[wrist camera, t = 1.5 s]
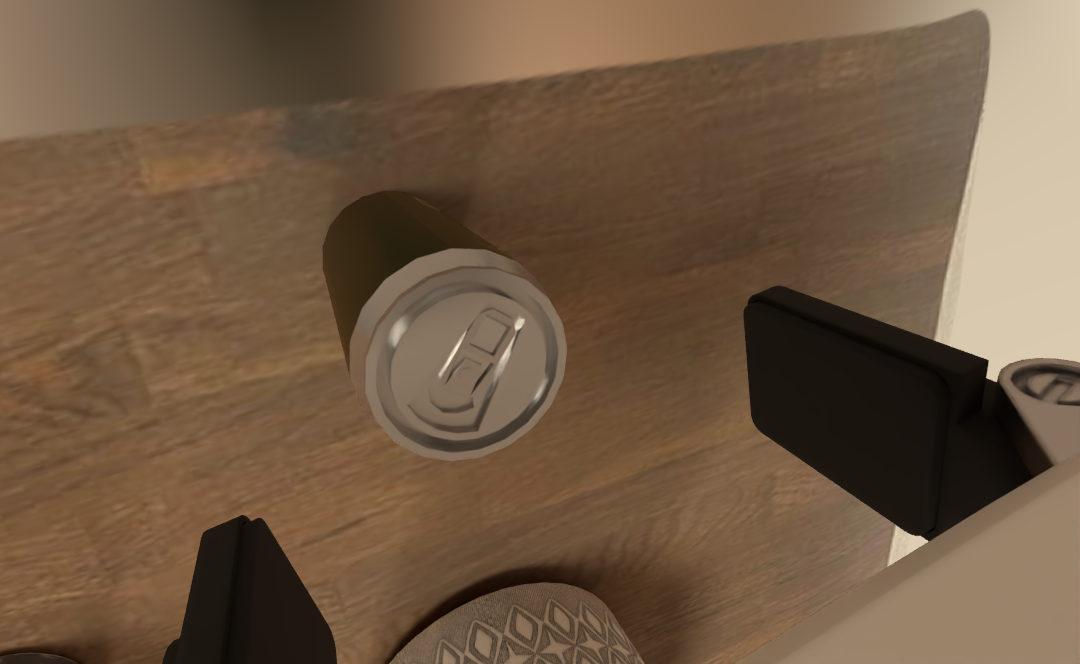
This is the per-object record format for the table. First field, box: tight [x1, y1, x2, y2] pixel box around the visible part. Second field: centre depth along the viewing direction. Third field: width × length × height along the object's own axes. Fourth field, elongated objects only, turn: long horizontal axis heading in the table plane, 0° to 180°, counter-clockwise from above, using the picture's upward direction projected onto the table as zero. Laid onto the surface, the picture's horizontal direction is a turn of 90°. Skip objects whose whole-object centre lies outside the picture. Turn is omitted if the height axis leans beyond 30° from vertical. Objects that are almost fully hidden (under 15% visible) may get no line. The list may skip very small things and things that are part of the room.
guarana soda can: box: [323, 192, 567, 461], centre depth 18 cm, size 5×5×12 cm
